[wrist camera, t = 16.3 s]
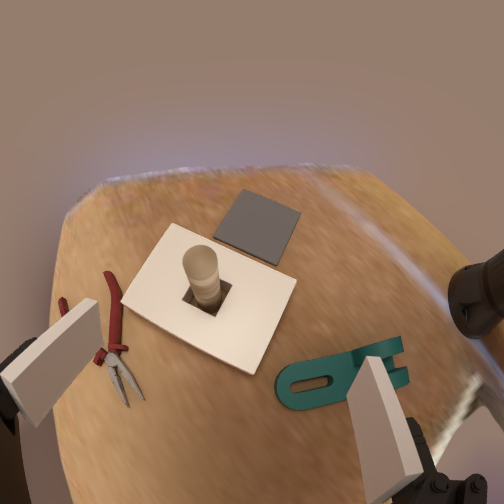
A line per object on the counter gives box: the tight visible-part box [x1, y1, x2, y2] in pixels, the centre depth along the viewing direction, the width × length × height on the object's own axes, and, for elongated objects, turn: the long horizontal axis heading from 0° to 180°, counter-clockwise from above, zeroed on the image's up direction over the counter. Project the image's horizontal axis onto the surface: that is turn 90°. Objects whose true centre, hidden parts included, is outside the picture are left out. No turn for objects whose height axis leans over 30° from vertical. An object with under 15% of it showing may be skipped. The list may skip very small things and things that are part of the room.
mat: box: [213, 189, 301, 266], centre depth 46 cm, size 11×11×1 cm
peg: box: [182, 245, 222, 313], centre depth 33 cm, size 4×4×14 cm
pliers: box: [58, 271, 145, 408], centre depth 34 cm, size 12×20×3 cm, turn 33°
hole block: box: [120, 223, 297, 375], centre depth 38 cm, size 20×14×4 cm
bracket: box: [274, 336, 410, 410], centre depth 32 cm, size 18×7×8 cm, turn 98°
